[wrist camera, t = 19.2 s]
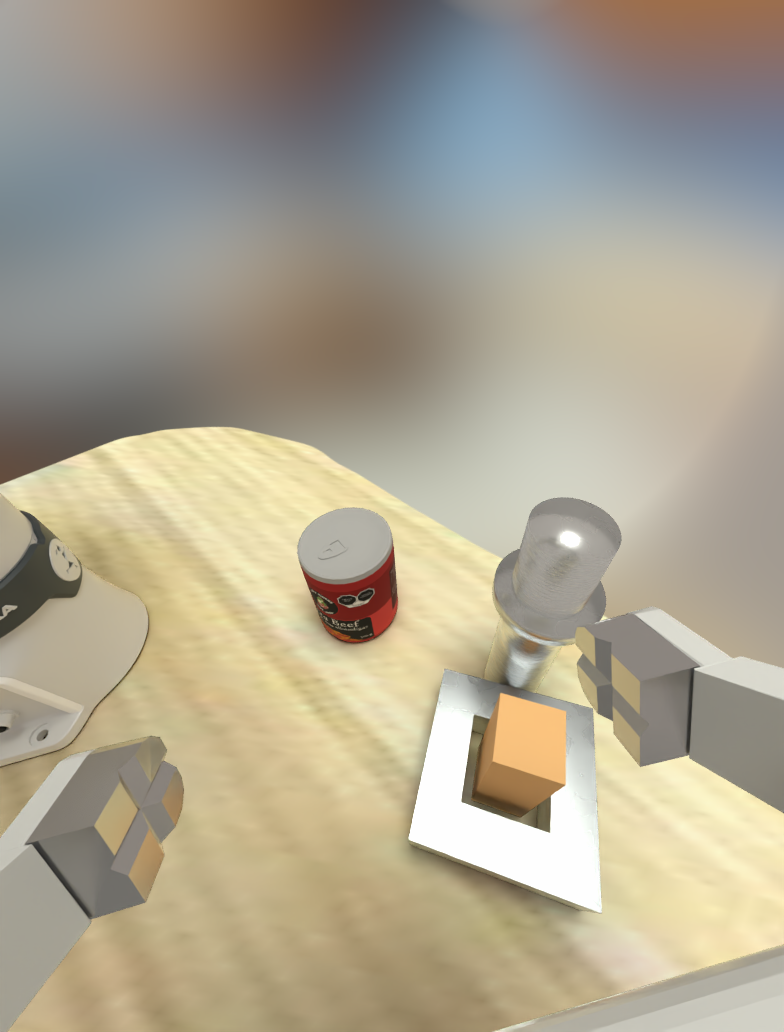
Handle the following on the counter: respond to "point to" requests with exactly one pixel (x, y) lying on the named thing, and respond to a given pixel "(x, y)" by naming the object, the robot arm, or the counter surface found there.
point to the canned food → (350, 572)
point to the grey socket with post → (518, 672)
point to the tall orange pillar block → (520, 756)
